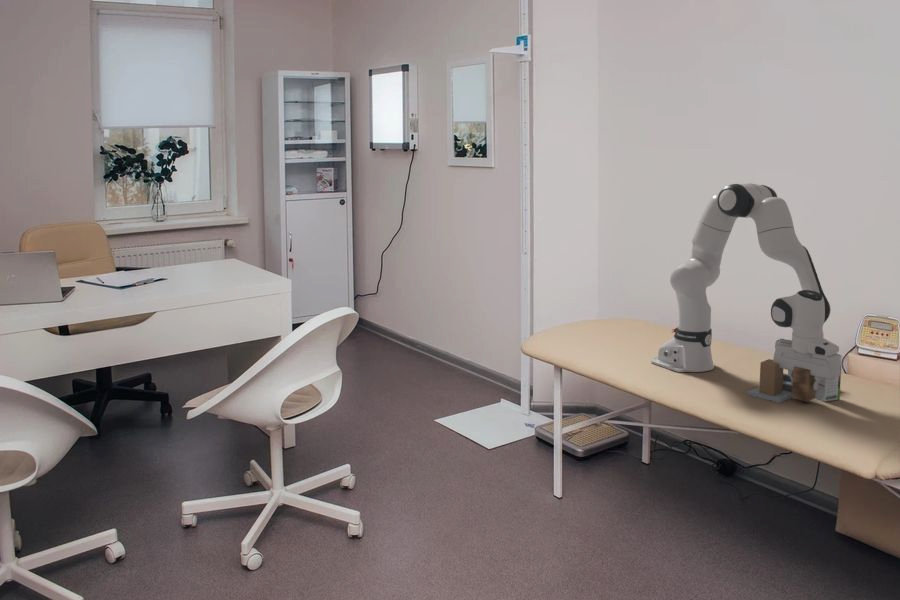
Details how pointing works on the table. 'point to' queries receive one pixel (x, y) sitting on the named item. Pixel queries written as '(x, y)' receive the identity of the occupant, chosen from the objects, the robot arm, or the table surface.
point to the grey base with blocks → (773, 383)
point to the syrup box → (829, 388)
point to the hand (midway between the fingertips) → (804, 386)
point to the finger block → (803, 384)
